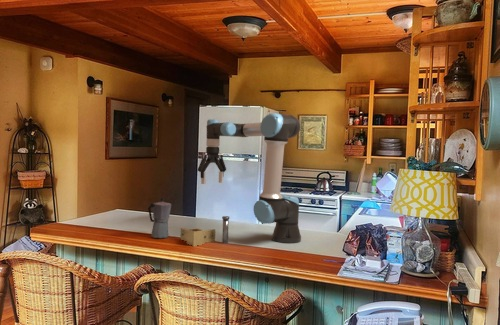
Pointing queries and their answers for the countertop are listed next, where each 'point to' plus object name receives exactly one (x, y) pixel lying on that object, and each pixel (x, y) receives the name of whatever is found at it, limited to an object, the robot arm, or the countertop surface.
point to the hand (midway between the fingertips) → (212, 183)
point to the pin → (225, 229)
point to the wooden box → (197, 236)
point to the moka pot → (160, 218)
